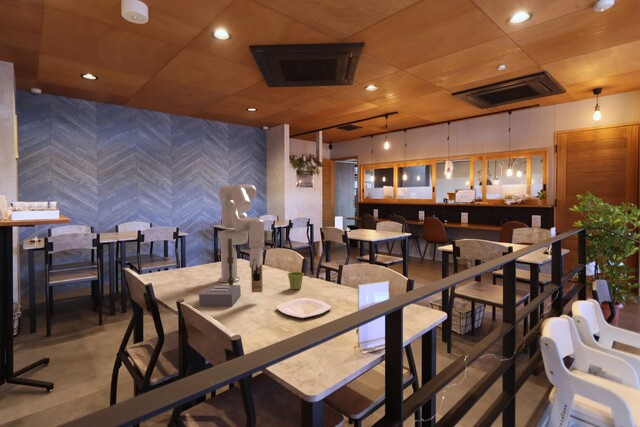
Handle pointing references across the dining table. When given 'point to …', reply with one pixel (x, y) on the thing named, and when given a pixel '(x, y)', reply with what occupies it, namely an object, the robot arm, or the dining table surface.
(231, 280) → the candlestick holder
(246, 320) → the dining table surface
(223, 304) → the grey slotted base block
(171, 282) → the dining table surface
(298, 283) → the plant pot
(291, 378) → the dining table surface
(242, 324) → the dining table surface
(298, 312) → the plate
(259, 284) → the tan upright bar
